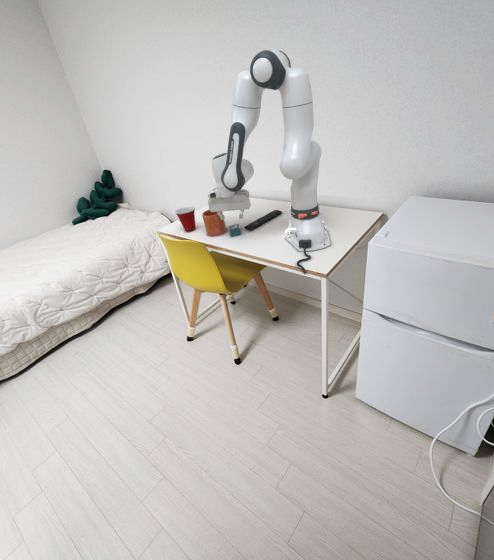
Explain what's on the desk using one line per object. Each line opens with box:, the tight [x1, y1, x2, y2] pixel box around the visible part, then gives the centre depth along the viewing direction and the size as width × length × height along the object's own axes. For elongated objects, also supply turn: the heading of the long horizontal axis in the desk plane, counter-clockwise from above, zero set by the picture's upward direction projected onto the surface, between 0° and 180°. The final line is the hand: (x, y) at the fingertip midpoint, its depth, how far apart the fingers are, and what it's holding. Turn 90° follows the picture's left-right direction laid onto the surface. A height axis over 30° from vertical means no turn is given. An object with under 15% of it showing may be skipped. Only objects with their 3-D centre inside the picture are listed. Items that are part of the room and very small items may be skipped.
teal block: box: [228, 223, 241, 238], centre depth 154 cm, size 5×5×4 cm
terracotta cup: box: [201, 209, 227, 238], centre depth 158 cm, size 10×10×11 cm
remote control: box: [243, 209, 283, 231], centre depth 162 cm, size 5×24×1 cm, turn 133°
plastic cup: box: [174, 206, 197, 233], centre depth 166 cm, size 11×11×12 cm
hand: (232, 218), depth 150 cm, fingers open, 8 cm apart
